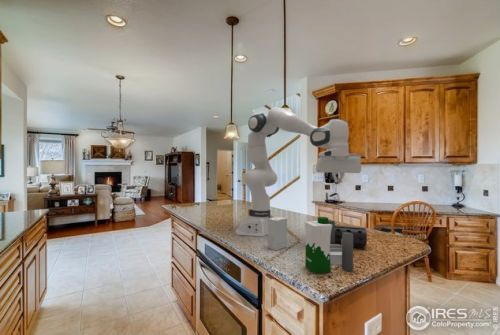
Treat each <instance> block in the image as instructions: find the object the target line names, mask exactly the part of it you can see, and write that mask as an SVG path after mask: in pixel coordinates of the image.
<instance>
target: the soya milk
mask: <svg viewBox="0 0 500 335" xmlns="http://www.w3.org/2000/svg"><path fill="white" fill-rule="evenodd" d="M328 221H329V217H326V216H318V217H317V220H310V221H304V228H305V229H304V230H305V257H304V258H305V260H304V261H305V262H304V264H305V268H307V269H308V270H309V271H310V272H311V273H313V274H323V273H324V274H325V273H331V272H332V268H331V265H330V235H331V230H332V225H331V224H329V223H328Z"/></svg>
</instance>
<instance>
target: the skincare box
mask: <svg viewBox="0 0 500 335" xmlns="http://www.w3.org/2000/svg"><path fill="white" fill-rule="evenodd" d="M287 222H288V218H287V217H283V216H280V215H277V216H273V217H271V218H269V219H268V235H267V248H268V249H271V250H272V251H275V250H276V251H279V250H281V249H285V248H287V246H288V244H287V242H288V241H287V233H288V232H287V231H288V230H287V228H288V227H287V226H288V225H287V224H288V223H287Z"/></svg>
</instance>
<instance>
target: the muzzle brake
mask: <svg viewBox="0 0 500 335" xmlns="http://www.w3.org/2000/svg"><path fill="white" fill-rule="evenodd" d="M343 232H349V233H353V248H364V249H365V247H366V246H367V242H368V238H367V234H368V233H367V230H366V228H365V227H360V226H359V227H355V226H354V227H353V226H346V225H345V226H343V225H342V226H341V225H335V245H341V240H342V233H343Z"/></svg>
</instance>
